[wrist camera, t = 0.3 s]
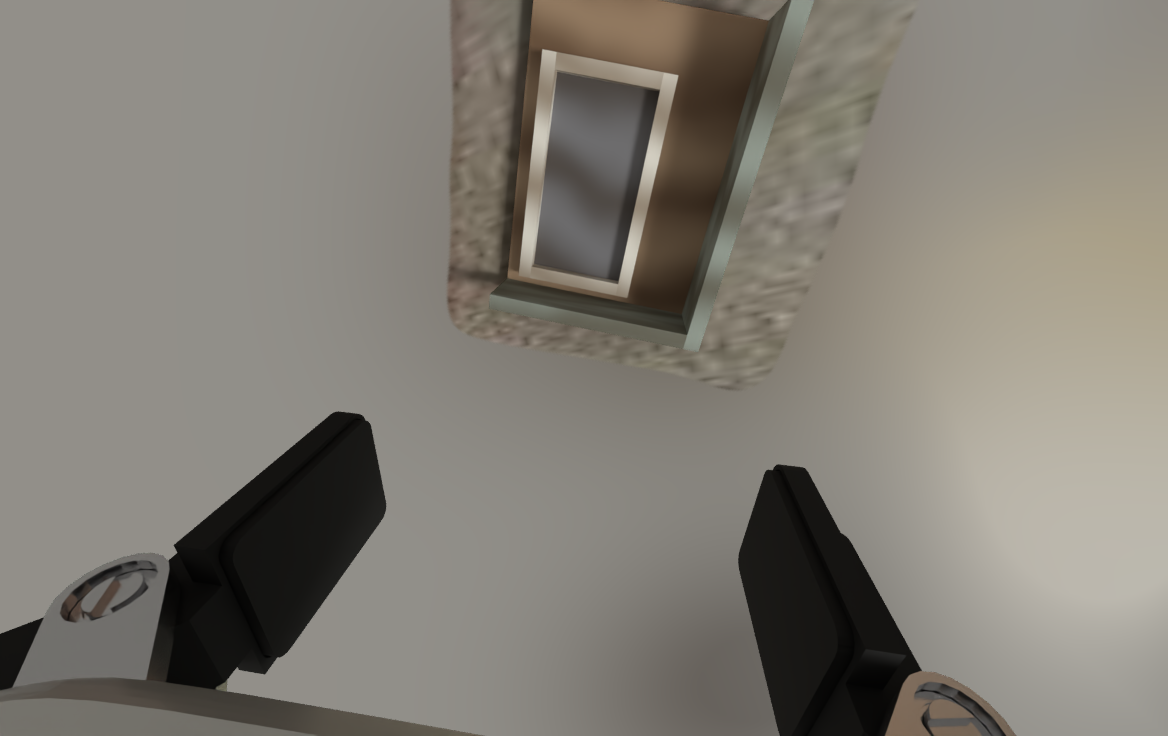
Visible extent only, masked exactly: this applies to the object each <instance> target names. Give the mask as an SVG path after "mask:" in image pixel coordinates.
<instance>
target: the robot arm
mask: <svg viewBox="0 0 1168 736" xmlns="http://www.w3.org/2000/svg"><path fill="white" fill-rule="evenodd" d="M385 511H386V500H385V495H384V490H383V485H382V480H381V475H380V470H379V465H378V460H377V454H376V449H375V444H374V440H373V434H372V429H371V425H370V423H369V422H368V421H365V418H364V417H363V416H362V415H360V414H355V413H346V412H334V413H332V414H331V415H330V416H328V417H327V418H326V419H325V420H324V421H322V422H321V423H320V424H319V425H318V426H316V427H315V428H314V429H313V430H312V431H310V432H309V433H308V434H307V435H306V436H304V437H303V438H302V439H301V440H300V441H298V442H297V443H296V444H295V445H294V446H292V447H291V448H290V449H289V450H288V451H286V452H285V453H284V454H283V455H282V456H280V457H279V458H278V459H277V460H276V461H274V462H273V463H272V464H271V465H270V466H268V467H267V468H266V469H265V470H263V471H262V472H261V473H260V474H259V475H257V476H256V477H255V478H254V479H253V480H251V481H250V482H249V483H248V484H247V485H245V486H244V487H243V488H242V489H241V490H239V491H238V492H237V493H236V494H235V495H233V496H232V497H231V498H230V499H229V500H228V501H226V502H225V503H224V504H223V505H221V506H220V507H219V508H218V509H217V510H215V511H214V512H213V513H212V514H211V515H209V516H208V517H207V518H206V519H205V520H203V521H202V522H201V523H200V524H199V525H197V526H196V527H195V528H194V529H193V530H191V531H190V532H189V533H188V534H187V535H185V536H184V537H183V538H182V539H181V540H179V541H178V542H177V543H176V544H175V545H174V547H175V549H176V551H177V554H176V555H174V556H173V557H172V558H171V559H170V560H169V561H168V560H167V559H166V558H165V557H164V556H163V555H159V554H155V553H143V554H142V553H141V554H135V555H131V556H127V557H122V558H119V559H117V560H114V561H112V562H109V563H106V564H104V565H102V566H100V567H98V568H96V569H94V570H92V571H90V572H88V573H87V574H85V575H84V576H82V577H81V578H79V579H78V580H76V581H75V582H73V583H72V584H70V585H69V586H68V587H67V588H66V589H65V590H64V591H63V592H62V593H61V594H60V595H58V596H57V597H56V598H55V600H54V601H53V603H52V604H51V606H50V607H49V609H48V610H47V612H46V614H45V616H44V618H41V619H39V620H36V621H33V622H30V623H28V624H25V625H22V626H20V627H17V628H15V629H12V630H9V631H7V632H4V633H1V634H0V736H483V735H477V734H471V733H466V732H460V731H455V730H449V729H443V728H438V727H432V726H426V725H420V724H415V723H409V722H403V721H398V720H392V719H386V718H381V717H375V716H369V715H363V714H357V713H352V712H345V711H340V710H333V709H328V708H322V707H316V706H311V705H305V704H299V703H293V702H287V701H281V700H275V699H270V698H263V697H258V696H252V695H246V694H239V693H233V692H227V679H228V678H229V676H230V675H231V674H232V673H233V671H234V670H235V669H236V668H237V667H238V668H239V670H243V671H248V672H254V673H260V674H266V672H267V671H268V669H269V668H270V667H271V665H272V664H273V662H274V661H275V660H276V658H277V657H282V656H283V655H285V654H286V653H287V652H288V651H289V649H290V648H291V647H292V645H293V644H294V643H295V641H296V640H297V638H298V637H299V636H300V634H301V633H302V631H303V630H304V629H305V627H306V626H307V624H308V623H309V622H310V620H311V619H312V617H313V616H314V615H315V613H316V612H317V610H318V609H319V608H320V606H321V605H322V603H323V602H324V600H325V599H326V597H327V596H328V595H329V593H330V592H331V591H332V589H333V588H334V586H335V585H336V584H337V582H338V581H339V579H340V578H341V577H342V575H343V574H344V572H345V571H346V570H347V568H348V567H349V565H350V564H351V562H352V561H353V560H354V558H355V557H356V555H357V554H358V553H359V551H360V550H361V548H362V547H363V546H364V544H365V543H366V541H367V540H368V539H369V537H370V536H371V534H372V533H373V532H374V530H375V529H376V527H377V526H378V525H379V523H380V522H381V520H382V519H383V517H384V514H385ZM738 563H739V571H740V575H741V579H742V583H743V587H744V591H745V595H746V599H747V603H748V608H749V612H750V615H751V620H752V624H753V628H754V632H755V637H756V640H757V645H758V649H759V653H760V657H761V661H762V665H763V669H764V674H765V678H766V681H767V686H768V690H769V694H770V698H771V702H772V707H773V710H774V715H775V719H776V723H777V727H778V731H779V734H780V736H1016V735H1015V733H1014V732H1013V731H1012V729H1011V728H1010V726H1009V725H1008V724H1007V722H1006V721H1005V719H1004V718H1003V717H1002V716H1001V715H1000V714H999V713H998V712H997V711H996V710H995V709H994V708H993V707H992V706H991V705H990V704H989V703H988V702H987V701H985V700H984V699H983V698H981V697H980V696H979V695H977V694H976V693H975V692H974V691H973V690H971V689H970V688H968V687H967V686H965V685H963V684H961V683H959V682H958V681H956V680H954V679H952V678H950V677H947V676H944V675H941V674H938V673H936V672H926V671H925V672H924V671H922V670H921V669H920V667H919V665H918V663H917V661H916V660H915V658H914V656H913V654H912V652H911V650H910V649H909V647H908V645H907V643H906V641H905V639H904V638H903V636H902V634H901V632H900V630H899V629H898V627H897V625H896V623H895V621H894V619H893V618H892V616H891V614H890V612H889V610H888V609H887V607H886V605H885V603H884V601H883V600H882V598H881V596H880V594H879V593H878V591H877V589H876V587H875V585H874V583H873V581H872V580H871V578H870V576H869V574H868V572H867V570H866V569H865V567H864V565H863V563H862V561H861V560H860V558H859V556H858V554H857V552H856V551H855V549H854V547H853V545H852V543H851V542H850V541H849V539H848V538H847V537H846V536H844V535H843V534H841V533H840V531H839V529H838V527H837V525H836V523H835V522H834V520H833V518H832V516H831V514H830V512H829V510H828V509H827V507H826V505H825V503H824V501H823V499H822V497H821V495H820V494H819V492H818V490H817V488H816V486H815V484H814V482H813V481H812V479H811V477H810V475H809V473H808V472H807V470H806V469H805V468H803V467H795V466H787V465H776V466H775V467H774V469H773V470H767V471H766V472H765V474H764V477H763V480H762V483H761V486H760V489H759V493H758V496H757V499H756V502H755V505H754V508H753V511H752V514H751V518H750V520H749V523H748V527H747V530H746V533H745V536H744V539H743V543H742V545H741V548H740V552H739V558H738Z"/></svg>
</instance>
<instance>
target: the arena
mask: <svg viewBox="0 0 1168 736" xmlns="http://www.w3.org/2000/svg"><path fill="white" fill-rule="evenodd" d="M813 2H814V0H788V1H787V2H786V3H785V4H784V5H783V6H782V8H781V9H780V10H779V11H778V12H777V13H776V14H775V15H774V16H773V17H772V18H771V19H770V20H769V21H766V20H761V19H756V18H750V17H745V16H740V15H734V14H729V13H724V12H718V11H713V10H708V9H702V8H697V7H691V6H686V5H681V4H675V3H670V2H665V1H659V0H533V9H532V20H531V31H530V42H529V52H528V63H527V74H526V85H525V95H524V106H523V117H522V127H521V138H520V149H519V160H518V170H517V181H516V192H515V203H514V213H513V224H512V235H511V246H510V256H509V267H508V278H507V279H506V280H505V281H504V282H503V283H502V284H501V285H500V286H498V287H497V288H496V289H495V290H494V291H493V292H492V293H491V294H490V301H489V309H493V310H498V311H503V312H508V313H513V314H517V315H522V316H527V317H532V318H537V319H541V320H546V321H551V322H556V323H561V324H565V325H570V326H575V327H580V328H585V329H589V330H594V331H599V332H604V333H609V334H613V335H618V336H623V337H628V338H633V339H637V340H642V341H647V342H652V343H657V344H661V345H666V346H671V347H676V348H681V349H686V350H690V351H695V352H698V351H699V348H700V344H701V341H702V338H703V335H704V332H705V329H706V326H707V323H708V320H709V317H710V314H711V311H712V308H713V305H714V302H715V299H716V296H717V293H718V290H719V287H720V284H721V281H722V278H723V275H724V272H725V269H726V266H727V263H728V260H729V257H730V254H731V251H732V248H733V245H734V242H735V238H736V235H737V232H738V229H739V226H740V223H741V220H742V217H743V214H744V211H745V208H746V205H747V202H748V199H749V196H750V193H751V190H752V187H753V184H754V181H755V178H756V175H757V172H758V169H759V166H760V163H761V160H762V157H763V154H764V151H765V148H766V145H767V142H768V139H769V135H770V132H771V129H772V126H773V123H774V120H775V117H776V114H777V111H778V108H779V105H780V102H781V99H782V96H783V93H784V90H785V87H786V84H787V81H788V78H789V75H790V72H791V69H792V66H793V63H794V60H795V57H796V54H797V51H798V48H799V45H800V42H801V39H802V36H803V32H804V29H805V26H806V23H807V20H808V17H809V14H810V11H811V8H812V5H813Z"/></svg>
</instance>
